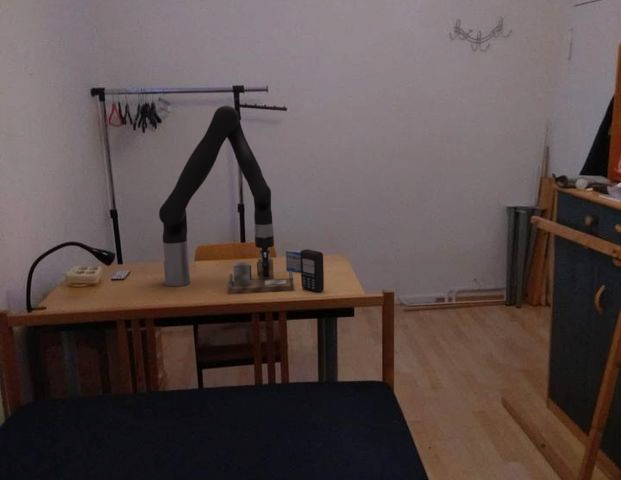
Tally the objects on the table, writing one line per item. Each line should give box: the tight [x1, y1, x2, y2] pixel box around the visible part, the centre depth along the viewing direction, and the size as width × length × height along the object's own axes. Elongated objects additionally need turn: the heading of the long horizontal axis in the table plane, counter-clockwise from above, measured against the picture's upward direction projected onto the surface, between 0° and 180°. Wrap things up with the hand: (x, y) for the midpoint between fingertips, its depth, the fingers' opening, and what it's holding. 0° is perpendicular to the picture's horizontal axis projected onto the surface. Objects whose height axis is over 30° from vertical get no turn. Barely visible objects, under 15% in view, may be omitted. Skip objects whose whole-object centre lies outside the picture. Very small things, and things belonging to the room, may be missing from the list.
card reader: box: [300, 248, 325, 293], centre depth 219 cm, size 9×4×15 cm, turn 44°
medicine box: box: [285, 249, 302, 273], centre depth 248 cm, size 8×4×9 cm, turn 62°
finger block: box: [256, 258, 275, 280], centre depth 236 cm, size 6×4×8 cm, turn 95°
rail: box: [227, 262, 295, 295], centre depth 224 cm, size 24×10×10 cm, turn 95°
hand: (266, 274), depth 237 cm, fingers open, 8 cm apart
